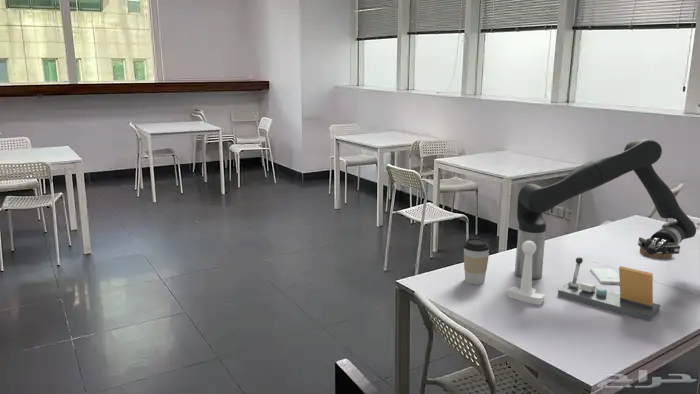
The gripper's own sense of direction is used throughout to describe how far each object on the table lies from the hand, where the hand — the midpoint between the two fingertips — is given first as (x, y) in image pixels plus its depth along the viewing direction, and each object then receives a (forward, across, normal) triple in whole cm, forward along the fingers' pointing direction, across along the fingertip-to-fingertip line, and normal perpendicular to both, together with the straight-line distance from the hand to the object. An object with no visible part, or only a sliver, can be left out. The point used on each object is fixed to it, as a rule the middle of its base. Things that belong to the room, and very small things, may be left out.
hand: (650, 251), depth 175 cm
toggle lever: (+10, -19, +14) cm, 26 cm away
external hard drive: (-13, -16, +18) cm, 27 cm away
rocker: (+9, -14, +15) cm, 23 cm away
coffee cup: (+22, -49, +18) cm, 57 cm away
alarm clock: (-54, -11, +16) cm, 57 cm away
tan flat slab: (+9, 0, +14) cm, 17 cm away
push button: (+9, -10, +15) cm, 20 cm away
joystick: (+23, -29, +18) cm, 41 cm away
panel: (+9, -8, +17) cm, 21 cm away
